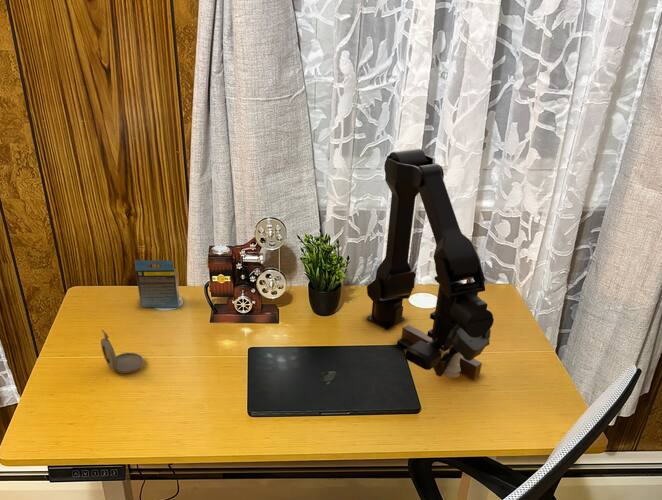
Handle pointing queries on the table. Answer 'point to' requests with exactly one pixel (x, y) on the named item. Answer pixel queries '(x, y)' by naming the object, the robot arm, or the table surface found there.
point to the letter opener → (404, 343)
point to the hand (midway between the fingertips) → (439, 375)
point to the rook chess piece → (453, 367)
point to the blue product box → (157, 283)
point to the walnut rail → (415, 335)
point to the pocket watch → (120, 358)
